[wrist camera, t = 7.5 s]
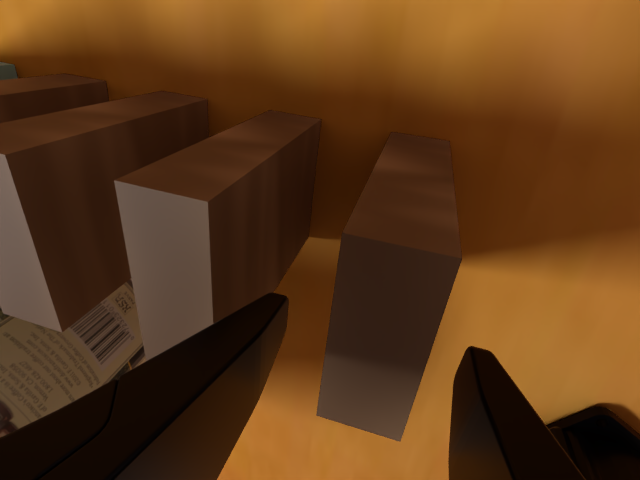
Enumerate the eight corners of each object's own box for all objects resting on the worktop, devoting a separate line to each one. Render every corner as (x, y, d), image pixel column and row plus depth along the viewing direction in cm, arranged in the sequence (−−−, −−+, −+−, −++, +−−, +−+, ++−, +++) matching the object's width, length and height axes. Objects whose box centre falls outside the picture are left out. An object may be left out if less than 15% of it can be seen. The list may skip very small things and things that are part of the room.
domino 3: (321, 119, 14) (208, 201, 7) (308, 237, 16) (215, 382, 9) (270, 110, 14) (113, 179, 7) (264, 227, 17) (146, 360, 10)
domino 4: (449, 141, 13) (462, 257, 6) (417, 262, 15) (400, 441, 9) (391, 131, 13) (342, 233, 6) (368, 251, 16) (316, 415, 9)
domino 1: (105, 80, 15) (-158, 116, 9) (124, 193, 18) (-69, 290, 11) (64, 73, 16) (-221, 102, 9) (88, 185, 18) (-119, 273, 11)
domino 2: (207, 98, 14) (5, 154, 8) (211, 214, 17) (61, 332, 10) (161, 90, 15) (-71, 137, 8) (172, 204, 17) (3, 313, 11)
